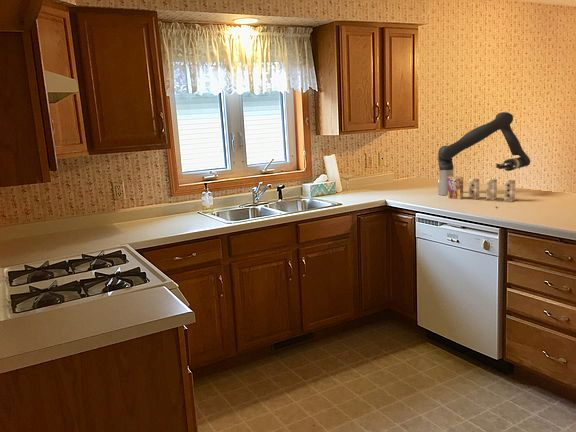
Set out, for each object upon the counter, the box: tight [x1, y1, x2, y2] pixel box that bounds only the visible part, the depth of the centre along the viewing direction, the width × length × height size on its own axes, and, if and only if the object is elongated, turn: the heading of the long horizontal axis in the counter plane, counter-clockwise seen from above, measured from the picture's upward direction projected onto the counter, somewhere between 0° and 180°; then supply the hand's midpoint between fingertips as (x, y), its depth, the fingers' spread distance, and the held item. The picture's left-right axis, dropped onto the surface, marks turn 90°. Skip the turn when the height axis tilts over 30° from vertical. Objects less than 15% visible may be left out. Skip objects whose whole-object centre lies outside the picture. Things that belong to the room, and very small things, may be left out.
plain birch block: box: [485, 178, 498, 200], centre depth 302 cm, size 4×4×12 cm
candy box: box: [447, 175, 464, 200], centre depth 314 cm, size 9×4×15 cm, turn 39°
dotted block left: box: [468, 177, 480, 199], centre depth 310 cm, size 4×5×12 cm
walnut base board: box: [464, 196, 519, 203], centre depth 303 cm, size 30×10×2 cm, turn 44°
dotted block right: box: [503, 179, 516, 201], centre depth 294 cm, size 4×5×12 cm
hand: (499, 167), depth 308 cm, fingers closed
